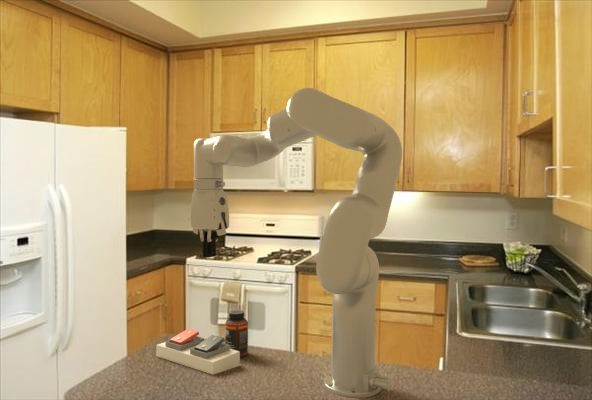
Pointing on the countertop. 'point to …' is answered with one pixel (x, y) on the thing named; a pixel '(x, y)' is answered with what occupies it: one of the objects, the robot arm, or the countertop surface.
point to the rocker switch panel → (200, 356)
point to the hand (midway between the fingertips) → (209, 256)
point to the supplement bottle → (237, 332)
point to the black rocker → (210, 344)
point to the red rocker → (184, 337)
